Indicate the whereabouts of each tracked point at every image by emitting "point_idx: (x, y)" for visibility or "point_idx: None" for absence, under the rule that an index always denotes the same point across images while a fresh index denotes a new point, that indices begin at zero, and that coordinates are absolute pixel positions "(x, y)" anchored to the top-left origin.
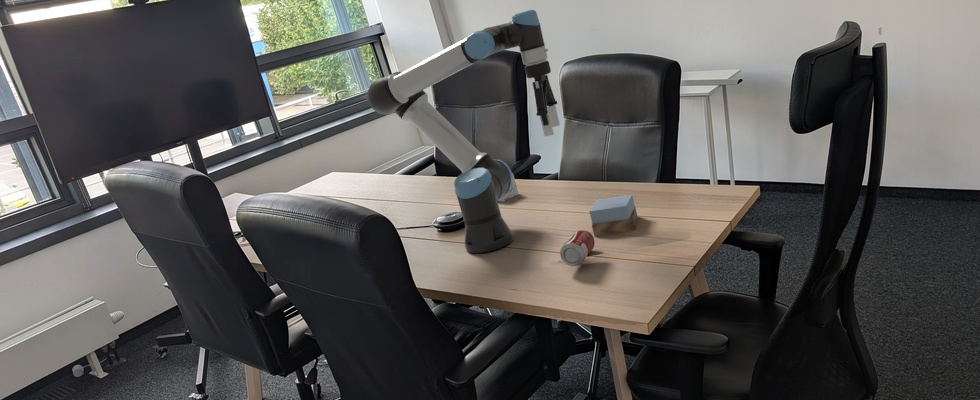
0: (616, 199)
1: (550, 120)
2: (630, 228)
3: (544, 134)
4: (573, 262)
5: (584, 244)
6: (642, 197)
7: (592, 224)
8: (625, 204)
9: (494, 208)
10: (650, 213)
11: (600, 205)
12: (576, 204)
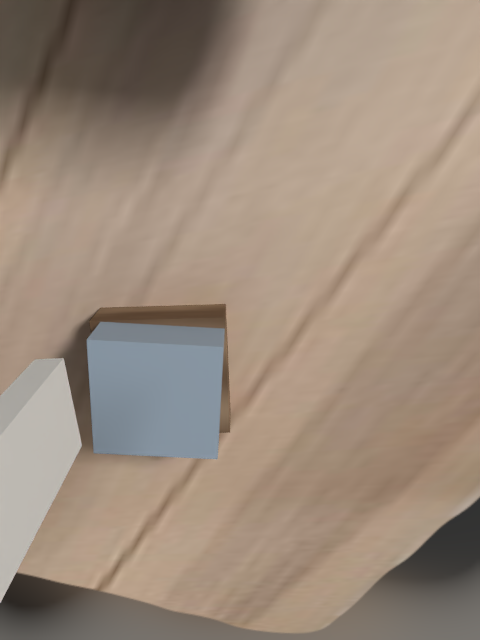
0: (185, 416)
1: (8, 580)
2: None
3: (26, 372)
4: None
5: None
6: (417, 410)
7: (96, 322)
8: (110, 449)
9: None
10: (241, 443)
11: (141, 370)
12: None
